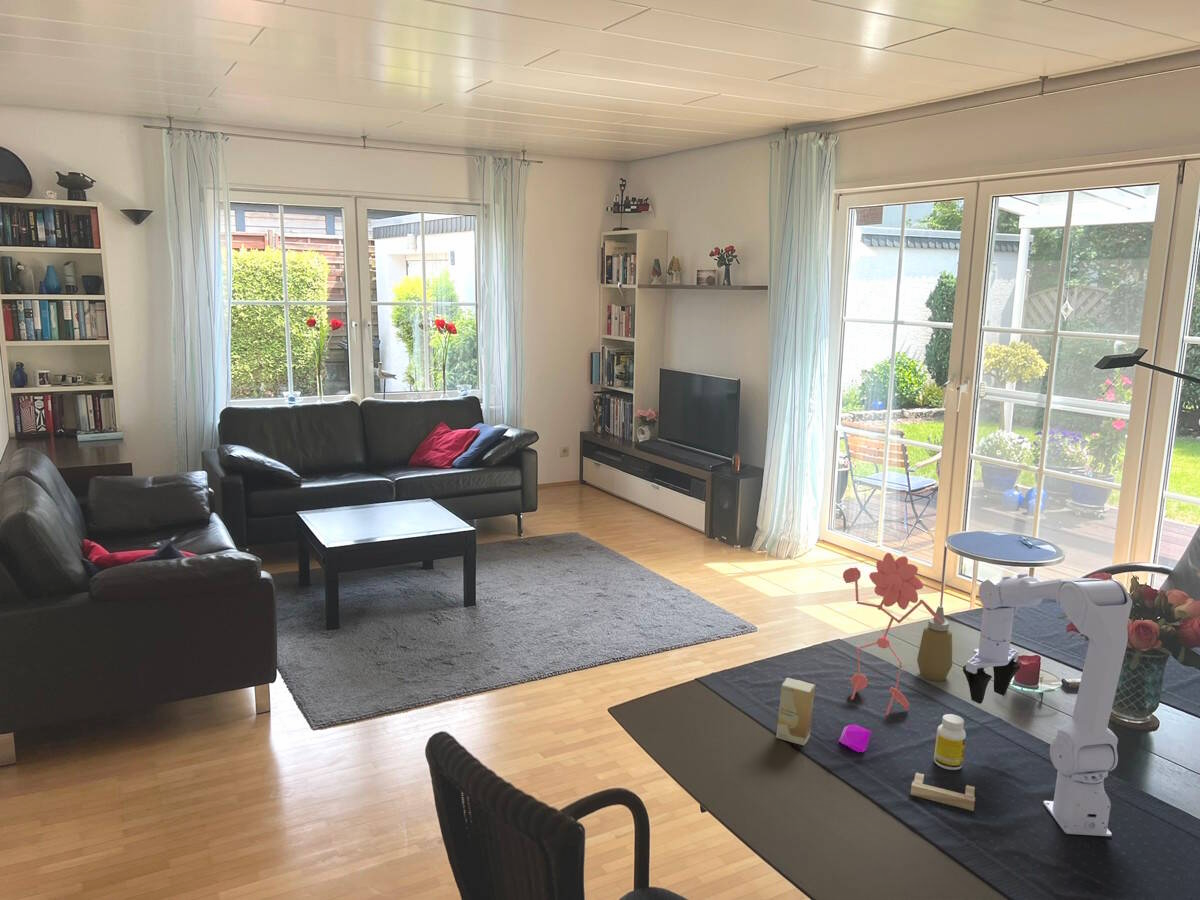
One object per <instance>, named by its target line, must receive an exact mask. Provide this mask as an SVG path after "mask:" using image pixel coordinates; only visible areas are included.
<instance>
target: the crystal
mask: <svg viewBox="0 0 1200 900" xmlns="http://www.w3.org/2000/svg"><path fill="white" fill-rule="evenodd" d="M871 734H872V731H871V730H869V729H867V728H865V727H862V726H860V725H858V724H848V725H846V726H844V727H843V730H842V733H841V735H840V737H839V740H838V742H839V741H840V742H841V743H842V745H843V744H844V746H845V745H846V746H845V747H847V746H848V748H849V747H850V748H849V749H851V750H853V751H855V752H857V753H859V752H862V753H864V752H865V751H866V750H867V747H868V744H869V741H870V738H871ZM841 743H840V744H841Z"/></svg>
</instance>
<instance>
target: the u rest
mask: <svg viewBox="0 0 1200 900" xmlns="http://www.w3.org/2000/svg"><path fill="white" fill-rule="evenodd" d="M924 779H925V774H924V773H919V772H915V775H914V780H912V781H911V787H910V796H914V797H918V798H921V799H926V800H930V801H933V802H936V803H940V804H941V803H942V804H944V805H947V806H953V807H957V808H961V809H963V810H967V811H973V812H974V810H975V802H976V796H975V789H976V787H975V786H973V785H972V786H971V785H968V784H966V786H965V793H961V792H957V791H953V790H948V789H946V788H941V787H937V786H933V785H929V784H925V783H924Z"/></svg>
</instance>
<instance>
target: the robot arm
mask: <svg viewBox="0 0 1200 900" xmlns="http://www.w3.org/2000/svg"><path fill="white" fill-rule="evenodd" d="M1016 576H1017V577H1011V576H1003V577H1002V579H986V580H984V581H982V582H980V585H979V588H978V597H979V601H980V603H981V605H982V607H983V609H982V617H981V624H980V625H981V626H980V634H979V643H978V648H975V649H974V650H973V654H974V655H973V656H972V658H971V659H969V660H967V661H966V664H965V665H963V667H962V672H963V674H964V675H965V678H966V680H967V682H968V683H967V685H968V687H969V692H970V698H971V699H970V700H971V701H973V702H974V703H976V704H979V705H981V704H982V703H983V702H984V700H985V695H986V690H987V688H988V684H989V682H990V681H991V679H992V678H993V690H994V693H996V694H998V695H1001V696H1005V695H1006V693H1007V691H1008V689H1009V687H1010V684H1011V681H1012V679H1013V678H1014V676H1015V675H1016V674H1017V672H1018V671H1019V670H1020V669H1021V664H1020V663H1019V662H1017V661H1018V660H1019V653H1020V652H1019V650H1017V649H1015V648H1012V647H1011V638H1012V630H1013V623H1014V622H1013V621H1014V617H1016V616H1017V614H1018V608H1025V607H1027V608H1028V607H1036V606H1038V605H1040V604H1041V602H1043V599H1055V600H1056V604H1057V606H1060V608H1061V610H1062V611H1063V612H1064V614H1065V616H1066V617H1067V619H1069V620H1070V622H1071V623H1072V624H1073V625H1074V627H1075V628H1076V629H1077V630H1078V632H1079V633H1080V634H1081V635H1083V636H1085V637H1087V638H1088V640H1089V642H1088V647H1087V651H1086V654H1085V655H1086V656H1085V659H1084V664H1083V669H1082V673H1081V676H1080V681H1079V682H1080V683H1079V686H1078V687H1079V688H1078V690H1077V695H1076V700H1075V704H1074V707H1073V708H1074V709H1073V713H1072V718H1071V719H1069V721H1067V722H1066V723H1064V724H1063V725H1062V726H1061V727H1060V728H1058V729H1057V734H1056V736H1055V737H1054V739H1053V740H1052V741H1051V744H1050V746H1049V757H1050V760H1051V763H1052V765H1053V766H1054V769H1056V770H1057V776H1056V782H1055V789H1054V796H1053V800H1043V805H1044V806H1045V808H1046V809H1047V810H1048V812H1049V813H1050V814H1051V816H1052V817H1053V819H1054V820H1055V821H1056V823H1057V824H1058V825H1059V827H1060V828H1061V829H1062V831H1063V832H1064V833H1065V834H1066V835H1067V834H1068V835H1082V836H1096V837H1097V836H1099V837H1112V836H1113V835H1112V832H1111V831H1110V830H1109V828H1108V826H1109V820H1110V812H1111V805H1112V804H1111V803H1112V802H1111V800H1110V798H1109V796H1108V794H1107V793H1106V789H1105V787H1104V783H1105V781H1104V779H1105V778H1108V776H1109V775H1108V774H1109V772H1111V771H1113V770H1114V769H1116V767H1117V765H1118V763H1119V762H1118V761H1119V755H1118V742H1119V738H1118V737H1117V736H1116V734H1115V732H1113V731H1112V730H1111V729H1110V728H1109V727H1108V726H1109V722H1110V717H1111V713H1112V709H1113V705H1114V701H1115V696H1116V693H1117V687H1118V683H1119V679H1120V676H1121V671H1122V668H1123V667H1122V666H1123V663H1124V660H1125V659H1124V658H1125V656H1126V650H1127V646H1128V641H1129V640H1128V639H1129V633H1128V623H1129V619H1130V615H1131V612H1132V611H1131V610H1132V607H1133V604H1134V602H1133V599H1132V598H1131V596H1130V594H1129V592H1128V590H1127V589H1126V587H1125V586H1124V585H1123V584H1122V582H1120V581H1119V580H1117V579H1113V578H1111V579H1109V578H1108V579H1106V580H1104V579H1102V578H1091V577H1089V578H1088V577H1087V578H1086V577H1070V578H1069V577H1068V578H1058V579H1057V578H1056V579H1051V580H1050V579H1049V580H1044V581H1040V580H1039V579H1038V578H1036V577H1034V576H1029V574H1028V573H1019V574H1016ZM989 667H990V668H991V667H992V668H993V669H992V671H993V675H991V674H988V673H986V671H985V669H986V668H989Z"/></svg>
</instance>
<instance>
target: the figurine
mask: <svg viewBox="0 0 1200 900" xmlns="http://www.w3.org/2000/svg"><path fill="white" fill-rule="evenodd" d="M875 565H876V570H877V571H873V572H870V573H869V575H868V576H869V580H870V581H871V582H872V583H873V584H874V585H875V587H874V590H873V591H874V594H876V595H877V596H879V597H883V598H882V600H881V602H880V603H879V604H874V603H873V604H872V603H870V602H869V603H867V602H862V601H859V584H858V580H859V579H861V576H862V575H861V571H860V570H859V569H858V567H856V566H855V567H849V568H848V569H845V570H844V571H843V574H842V579H843V580H844V582H845V583H846V584H850V583H854V584H855V587H854V589H855V602H856V605H862V606H867V607H872V608H873V607H874V608H877V610H878V611H882V612H883V613H885V614H886V615H887V616H888V617H890V620H889V623H888V625H887V627H886V630H885V633H884V635H883V636H879V637H878V638H877V640H876V641H875V642H872V643H868V644H866V645H862V646H859V647H857V648H856V655H857V666H858V668H857V669H858V673H854V675H852V677H851V679H850V683H851V685H852V687H853V692H852V694H851V696H850V700H851V699H853V700H854V699H855V696H856V693H857V692H860V691H862V690H863V689H866V687H867V686H868V685H869V684H868V683H869V681H868V678H867V676H866V675H864V674H862V673H861V664H860V663H861V661H860V652H859V650H860V649H863V648H866V647H869V646H874V645H877V646H878V647H879V648H880V649H887V648H889V649H890V651H891V652H892V653H893V654H894V656H895V658H896V659H897V660H898V662H899V667H898V673H897V678H896V685H895V687H894V688H893V686H891V687H889V688H890V689H889V690H890V693H891V695H892V696H891V697H890V698H891V699H890V701H889V704H888V707H887V709H886V712H885V716H887V715H888V716H889V714H890V711H891V709H892V706H893V703H894V700H896V701H897V703H898V704H899V705H901V706H902V708H904V709H905V710H906V711H909V710H910V703H909V701H908V699H906V697H905V695H904V694H903V693H902V692H900V690H898V688H899V687H898V686H899V683H900V682H899V681H900V675H901V670H902V664H903V663H902V660H901V659H900V658H899V657H898V655H897V653H896V652H895V651H894V650H893V648H892V646H891V645H890V639H889V638H888V637H887V635H888V632H889V630H890V628H891V626H892V624H893V622H894V621H895V622H896V623H898V624H900V623H902V621H904V620H905V619H906V618H907V617H908V616H909V615H910V614H912V613H913V612H914V611H915V610H916V609H917V608H918V607H920V606H921V605H922V606H924V608H925V609H926V610H927V611H928V612H929V613H930V614H931V615H932V617H933V618H934V617H935V618H936V619H937V620H938V621H939V622H940V623H941V624H943V622H942V620H941V619H940V618H939V617H938V615H937V614H936V611H934V609H933V608H931V606H929V605H928V604H927V602H925V600H924V599H923V598H922V599H920V600H919V596H918V592H917V590H921V589H923V588H924V584H923V582H922V581H921V579H920V578H919V577H917V576H916V575H917V573H918V572H919V571H918V570H919V569H918V566H916V565H915V564H913V563H909V558H908V557H907V556H905V555H903V556H900V557H897V558H896V559H895V558H894V556H893V554H892V553H890V552H887V553H885V555H884V556H883V559H882V560H881V559H878V560H877V561H876V563H875ZM918 601H919V602H918ZM896 603H897V605H898V607H899V608H900V609H901V610H904V611H905V610H906V609H907V608H908V606H909V604H910V603H913V604H915V605H914V606H913V607H912V608H911V609H910V610H908V612H906V613H905V614H904V615H903V616H902V617H901V618H900V619H898V618H896V617H895V616H894V615H893V614H891V613H890V612H889V611H888V610H886V609H884V608H883V606H884V607H887V608H889V607H892V606H894V605H895V604H896ZM857 690H858V691H857ZM914 725H915V724H914V723H912V724H909V725H908V727H910V726H914Z"/></svg>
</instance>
